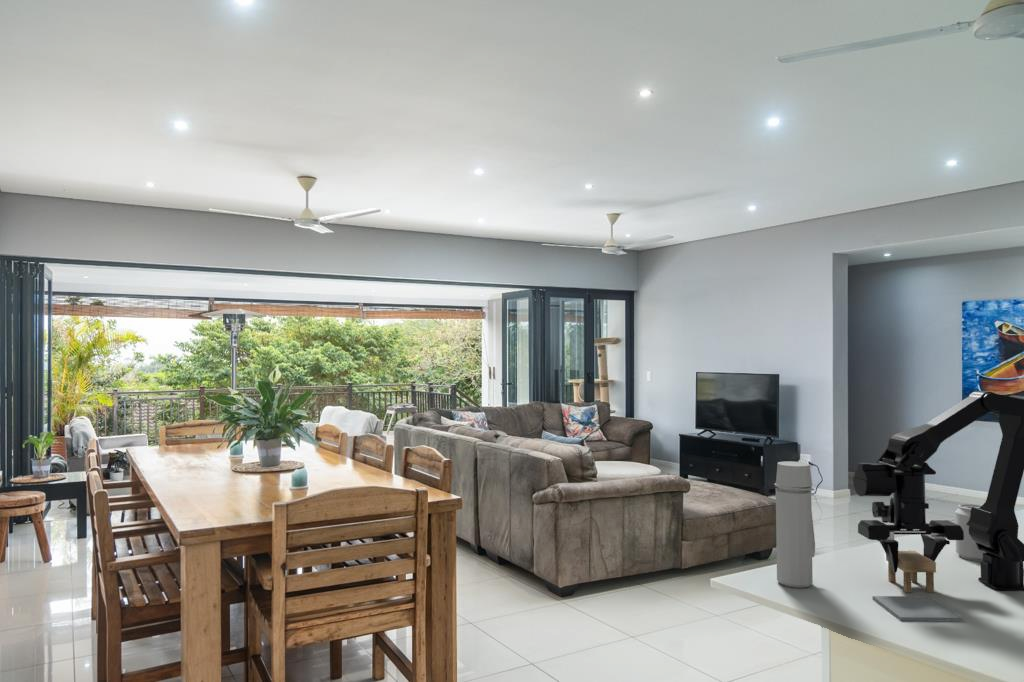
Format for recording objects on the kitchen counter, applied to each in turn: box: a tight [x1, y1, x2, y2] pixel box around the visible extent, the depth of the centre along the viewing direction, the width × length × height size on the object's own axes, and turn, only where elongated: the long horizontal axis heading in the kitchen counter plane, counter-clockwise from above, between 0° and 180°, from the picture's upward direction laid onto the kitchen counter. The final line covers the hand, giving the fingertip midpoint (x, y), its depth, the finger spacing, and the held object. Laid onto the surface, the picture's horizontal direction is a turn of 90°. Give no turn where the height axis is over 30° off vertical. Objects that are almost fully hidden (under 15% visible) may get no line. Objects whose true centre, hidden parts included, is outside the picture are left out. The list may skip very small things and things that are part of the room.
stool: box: [885, 550, 937, 594], centre depth 146 cm, size 6×8×6 cm
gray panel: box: [872, 595, 964, 622], centre depth 133 cm, size 11×11×1 cm
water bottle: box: [773, 460, 816, 589], centre depth 149 cm, size 9×8×25 cm
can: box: [954, 503, 986, 562], centre depth 166 cm, size 8×8×12 cm
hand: (910, 571), depth 146 cm, fingers closed on stool, 6 cm apart
